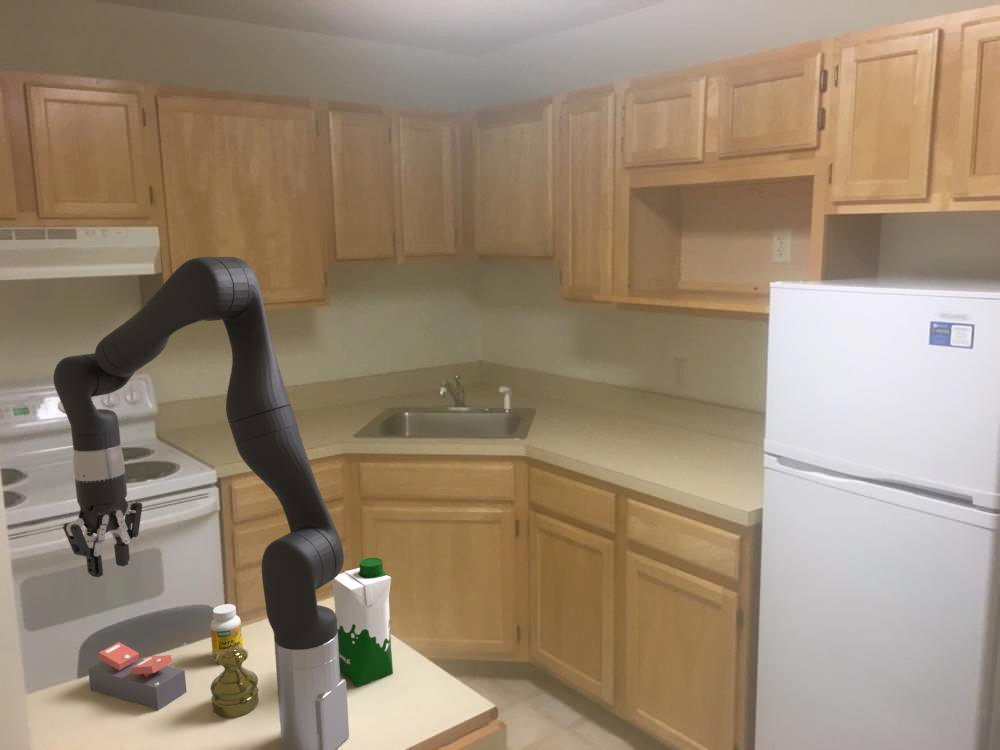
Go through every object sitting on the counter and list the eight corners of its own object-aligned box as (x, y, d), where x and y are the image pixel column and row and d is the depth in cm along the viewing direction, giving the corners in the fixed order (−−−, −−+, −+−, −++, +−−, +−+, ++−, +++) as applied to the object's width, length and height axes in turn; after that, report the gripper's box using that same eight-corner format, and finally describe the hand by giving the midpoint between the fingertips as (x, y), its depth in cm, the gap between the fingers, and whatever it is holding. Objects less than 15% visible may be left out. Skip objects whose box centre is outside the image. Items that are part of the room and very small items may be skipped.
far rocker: (138, 662, 138) (139, 652, 137) (118, 674, 134) (119, 663, 133) (118, 651, 139) (118, 641, 139) (98, 661, 136) (99, 651, 135)
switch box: (186, 691, 135) (184, 669, 134) (158, 710, 130) (156, 687, 129) (120, 673, 142) (117, 652, 141) (90, 690, 136) (88, 668, 136)
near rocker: (173, 665, 134) (170, 654, 134) (154, 677, 130) (151, 665, 130) (153, 666, 136) (150, 655, 136) (134, 678, 132) (130, 666, 132)
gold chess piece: (268, 697, 133) (264, 642, 131) (240, 722, 126) (235, 663, 124) (232, 690, 135) (228, 635, 134) (202, 714, 128) (197, 656, 127)
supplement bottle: (239, 647, 150) (235, 599, 149) (247, 658, 146) (243, 609, 144) (209, 655, 147) (205, 607, 146) (217, 667, 143) (213, 617, 141)
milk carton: (400, 674, 139) (395, 566, 136) (353, 692, 134) (347, 579, 131) (376, 654, 146) (371, 551, 143) (331, 671, 141) (324, 564, 138)
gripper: (77, 486, 124) (88, 590, 126) (151, 464, 136) (159, 558, 139) (44, 482, 127) (56, 583, 129) (120, 460, 139) (129, 552, 142)
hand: (109, 569), depth 134 cm, fingers open, 4 cm apart
